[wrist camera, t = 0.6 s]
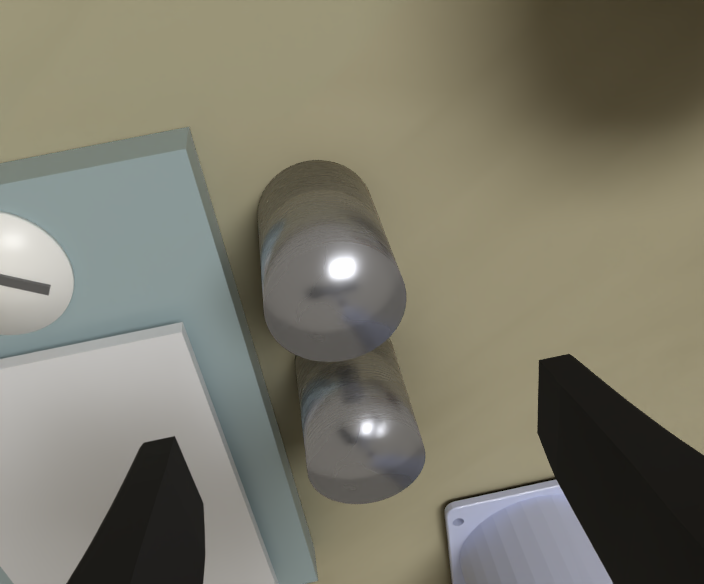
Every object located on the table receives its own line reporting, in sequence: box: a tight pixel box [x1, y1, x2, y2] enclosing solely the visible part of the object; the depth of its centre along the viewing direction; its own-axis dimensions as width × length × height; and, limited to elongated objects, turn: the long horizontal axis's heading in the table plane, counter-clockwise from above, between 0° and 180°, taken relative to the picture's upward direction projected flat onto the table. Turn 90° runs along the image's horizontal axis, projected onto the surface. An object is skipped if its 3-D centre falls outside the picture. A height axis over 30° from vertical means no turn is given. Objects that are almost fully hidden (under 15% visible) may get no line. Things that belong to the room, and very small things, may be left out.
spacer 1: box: [258, 160, 406, 362], centre depth 19 cm, size 4×4×5 cm
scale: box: [0, 127, 318, 584], centre depth 23 cm, size 20×12×3 cm, turn 8°
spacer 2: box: [295, 338, 425, 504], centre depth 22 cm, size 4×4×5 cm
